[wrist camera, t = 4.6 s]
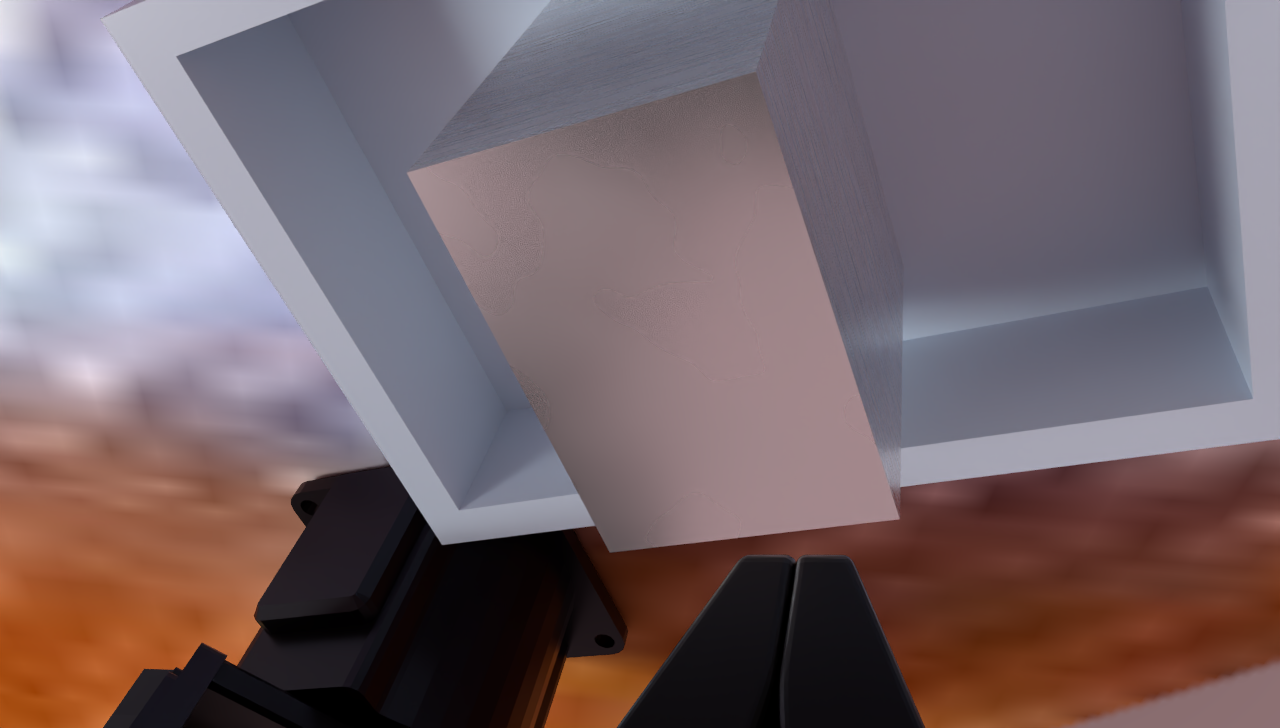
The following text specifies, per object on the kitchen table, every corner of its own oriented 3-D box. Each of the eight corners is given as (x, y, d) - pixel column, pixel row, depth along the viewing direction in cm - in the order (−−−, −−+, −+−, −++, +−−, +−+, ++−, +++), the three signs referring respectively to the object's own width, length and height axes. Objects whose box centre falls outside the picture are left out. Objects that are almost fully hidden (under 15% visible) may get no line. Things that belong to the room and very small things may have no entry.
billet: (903, 266, 18) (900, 519, 13) (684, 311, 19) (610, 553, 14) (806, -92, 15) (754, 71, 10) (554, -5, 16) (406, 172, 11)
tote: (1256, 297, 17) (1320, 434, 15) (498, 427, 23) (442, 544, 20) (1207, -464, 12) (1294, -472, 9) (228, -53, 17) (100, 19, 15)
